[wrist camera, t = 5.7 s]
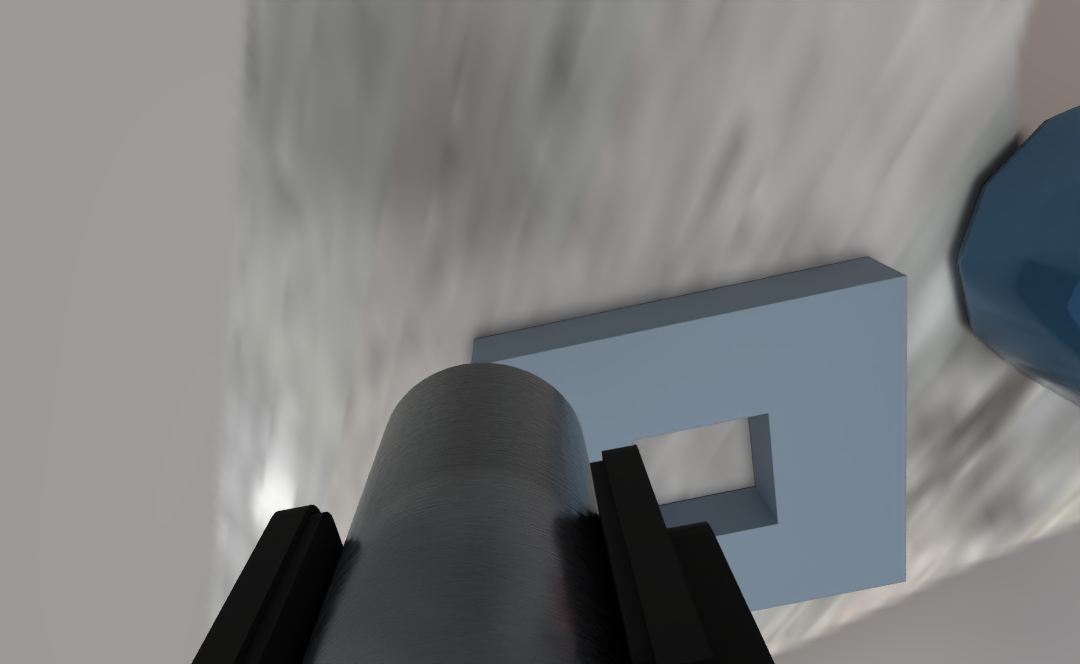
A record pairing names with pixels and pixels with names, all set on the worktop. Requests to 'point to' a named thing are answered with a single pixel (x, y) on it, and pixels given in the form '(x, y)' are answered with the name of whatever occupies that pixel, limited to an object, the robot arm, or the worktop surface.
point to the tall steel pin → (475, 535)
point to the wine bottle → (1030, 258)
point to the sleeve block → (759, 414)
